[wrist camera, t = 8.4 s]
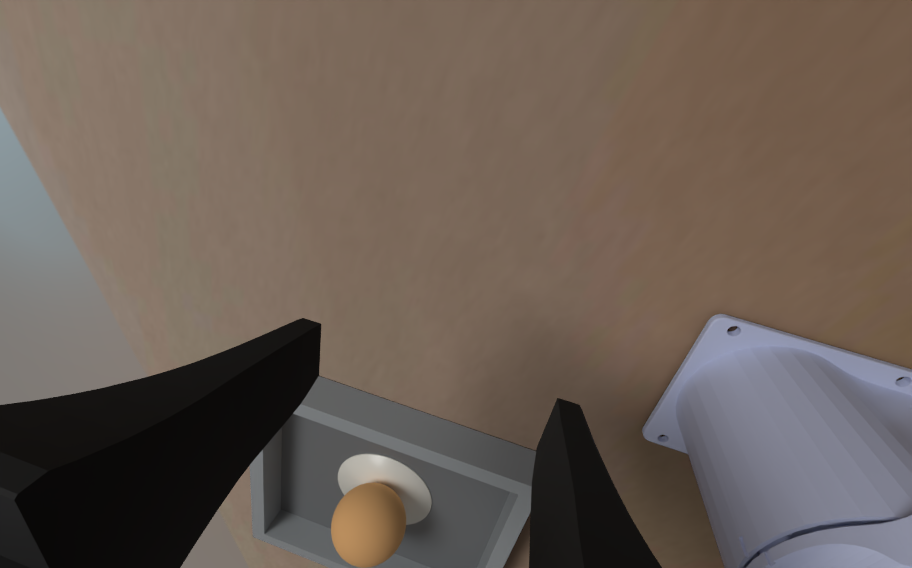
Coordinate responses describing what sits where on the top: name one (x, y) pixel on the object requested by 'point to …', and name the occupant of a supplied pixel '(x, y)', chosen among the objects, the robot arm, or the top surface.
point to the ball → (368, 525)
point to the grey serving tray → (390, 481)
